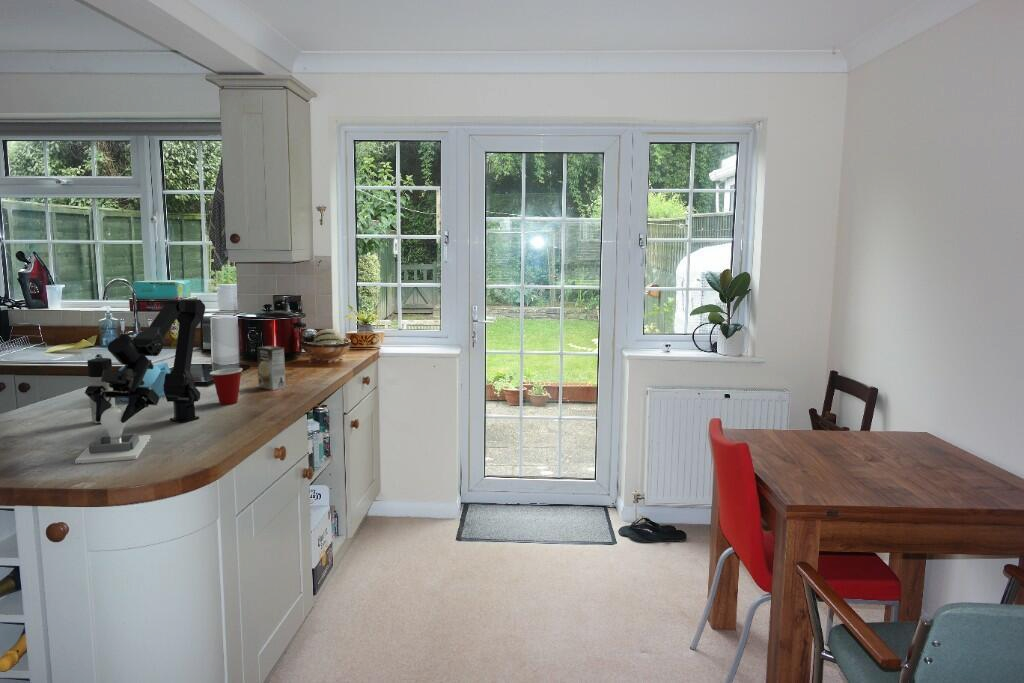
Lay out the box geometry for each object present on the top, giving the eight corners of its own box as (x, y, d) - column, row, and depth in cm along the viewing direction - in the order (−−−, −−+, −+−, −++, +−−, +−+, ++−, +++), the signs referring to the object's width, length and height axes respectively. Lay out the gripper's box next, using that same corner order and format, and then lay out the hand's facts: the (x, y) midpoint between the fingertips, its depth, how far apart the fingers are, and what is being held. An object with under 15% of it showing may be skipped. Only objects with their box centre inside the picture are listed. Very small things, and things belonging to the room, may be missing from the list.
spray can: (121, 419, 218) (116, 358, 215) (102, 425, 212) (97, 361, 209) (106, 417, 220) (101, 357, 217) (86, 423, 214) (81, 360, 211)
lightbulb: (110, 451, 182) (106, 411, 180) (98, 447, 185) (94, 408, 184) (134, 445, 187) (131, 406, 186) (122, 442, 191) (119, 403, 189)
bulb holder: (95, 442, 194) (94, 432, 193) (150, 438, 198) (149, 428, 197) (75, 463, 175) (74, 452, 174) (136, 459, 179) (135, 447, 179)
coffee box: (257, 387, 268) (255, 347, 265) (271, 384, 273) (269, 345, 271) (273, 390, 263) (271, 349, 260) (286, 387, 268) (284, 347, 266)
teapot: (108, 404, 238) (105, 365, 236) (118, 393, 255) (116, 357, 253) (169, 401, 244) (166, 363, 242) (175, 390, 262) (173, 355, 260)
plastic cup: (217, 399, 247) (215, 367, 245) (248, 399, 247) (246, 366, 246) (206, 406, 236) (204, 372, 234) (238, 406, 237) (237, 372, 235)
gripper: (86, 356, 187) (59, 405, 178) (149, 358, 186) (126, 407, 176) (108, 378, 196) (84, 426, 187) (169, 380, 195) (147, 428, 185)
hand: (109, 421), depth 184 cm, fingers open, 7 cm apart
